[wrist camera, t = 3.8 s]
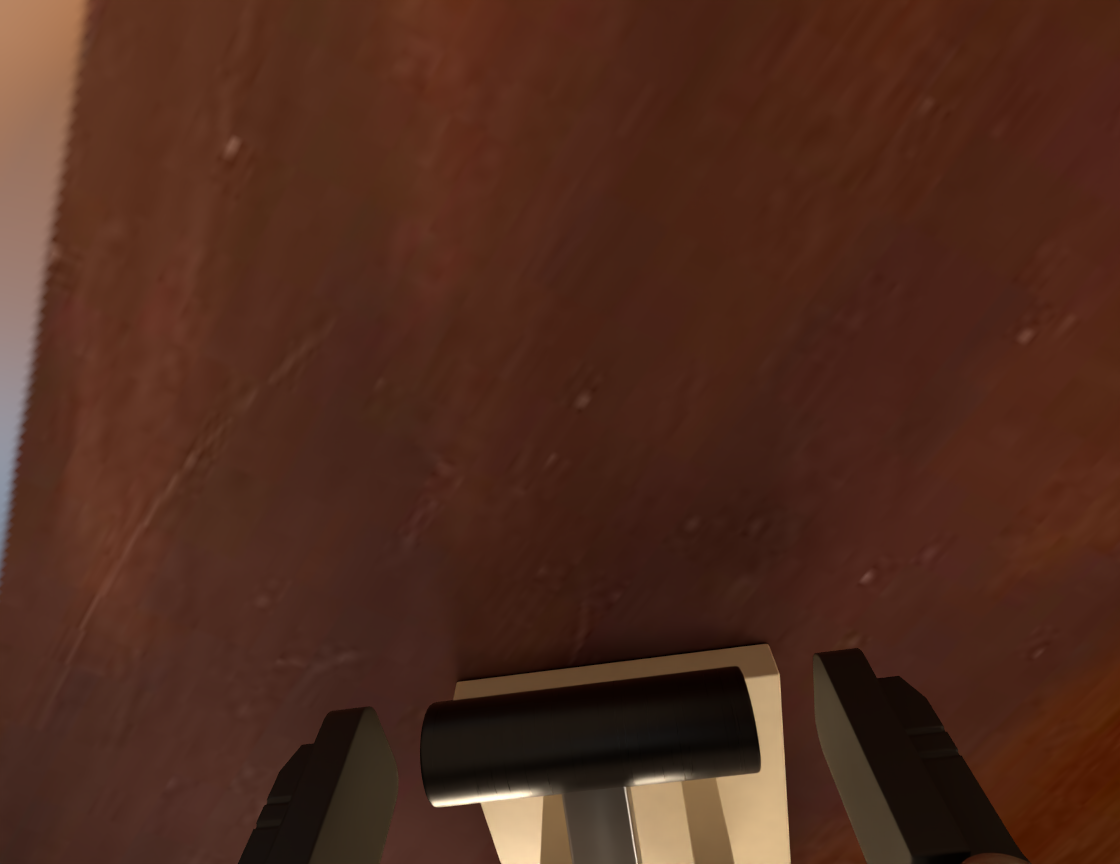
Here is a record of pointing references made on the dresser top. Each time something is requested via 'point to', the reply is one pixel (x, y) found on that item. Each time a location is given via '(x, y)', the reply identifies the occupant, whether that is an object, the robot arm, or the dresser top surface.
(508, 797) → the lever
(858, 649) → the robot arm
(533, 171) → the dresser top surface
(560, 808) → the bracket
